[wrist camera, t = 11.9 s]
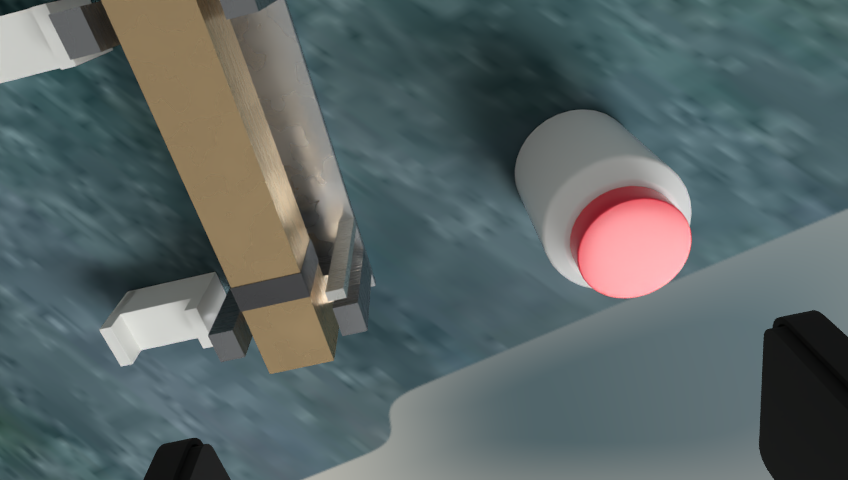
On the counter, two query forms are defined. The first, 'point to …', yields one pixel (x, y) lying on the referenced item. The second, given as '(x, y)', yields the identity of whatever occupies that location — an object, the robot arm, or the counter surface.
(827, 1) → the counter surface
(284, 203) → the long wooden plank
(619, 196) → the pill bottle
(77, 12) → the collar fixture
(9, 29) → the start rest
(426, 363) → the counter surface
